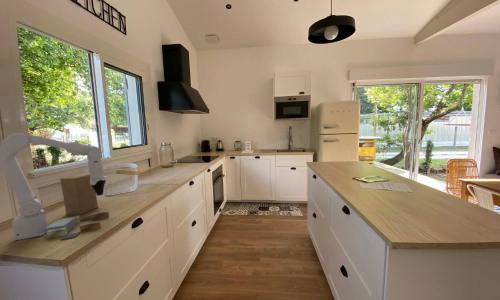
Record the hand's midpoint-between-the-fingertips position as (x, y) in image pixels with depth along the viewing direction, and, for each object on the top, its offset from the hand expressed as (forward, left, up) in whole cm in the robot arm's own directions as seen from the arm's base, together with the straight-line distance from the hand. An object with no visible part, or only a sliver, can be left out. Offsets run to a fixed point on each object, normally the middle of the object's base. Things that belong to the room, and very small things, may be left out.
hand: (100, 195), depth 103 cm
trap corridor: (-5, -12, -10) cm, 17 cm away
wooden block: (-13, +12, -11) cm, 21 cm away
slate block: (-12, -12, -11) cm, 20 cm away
